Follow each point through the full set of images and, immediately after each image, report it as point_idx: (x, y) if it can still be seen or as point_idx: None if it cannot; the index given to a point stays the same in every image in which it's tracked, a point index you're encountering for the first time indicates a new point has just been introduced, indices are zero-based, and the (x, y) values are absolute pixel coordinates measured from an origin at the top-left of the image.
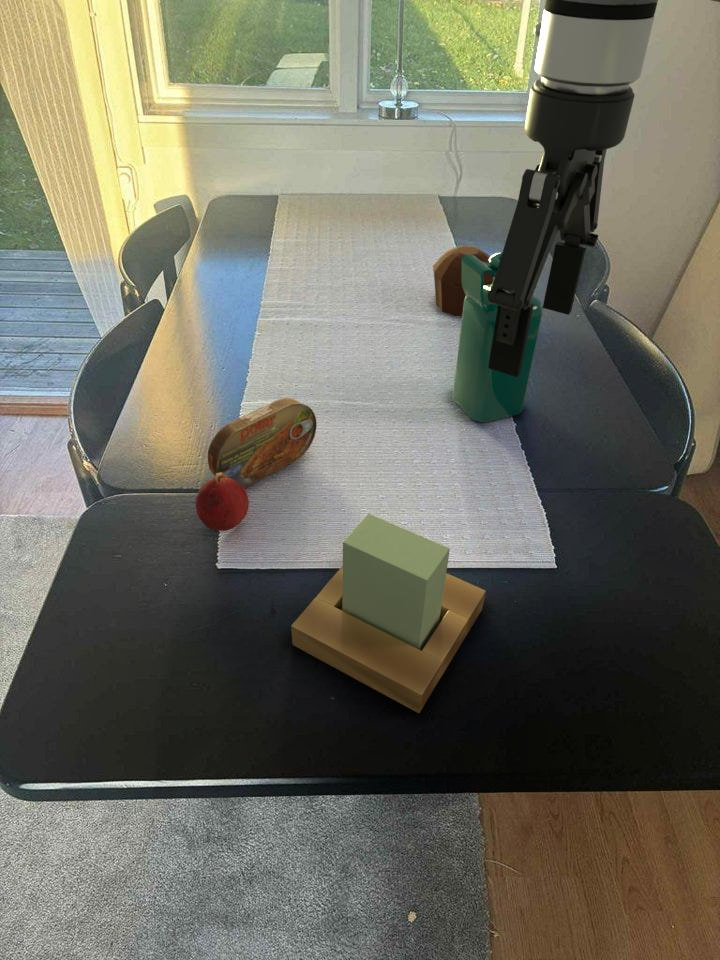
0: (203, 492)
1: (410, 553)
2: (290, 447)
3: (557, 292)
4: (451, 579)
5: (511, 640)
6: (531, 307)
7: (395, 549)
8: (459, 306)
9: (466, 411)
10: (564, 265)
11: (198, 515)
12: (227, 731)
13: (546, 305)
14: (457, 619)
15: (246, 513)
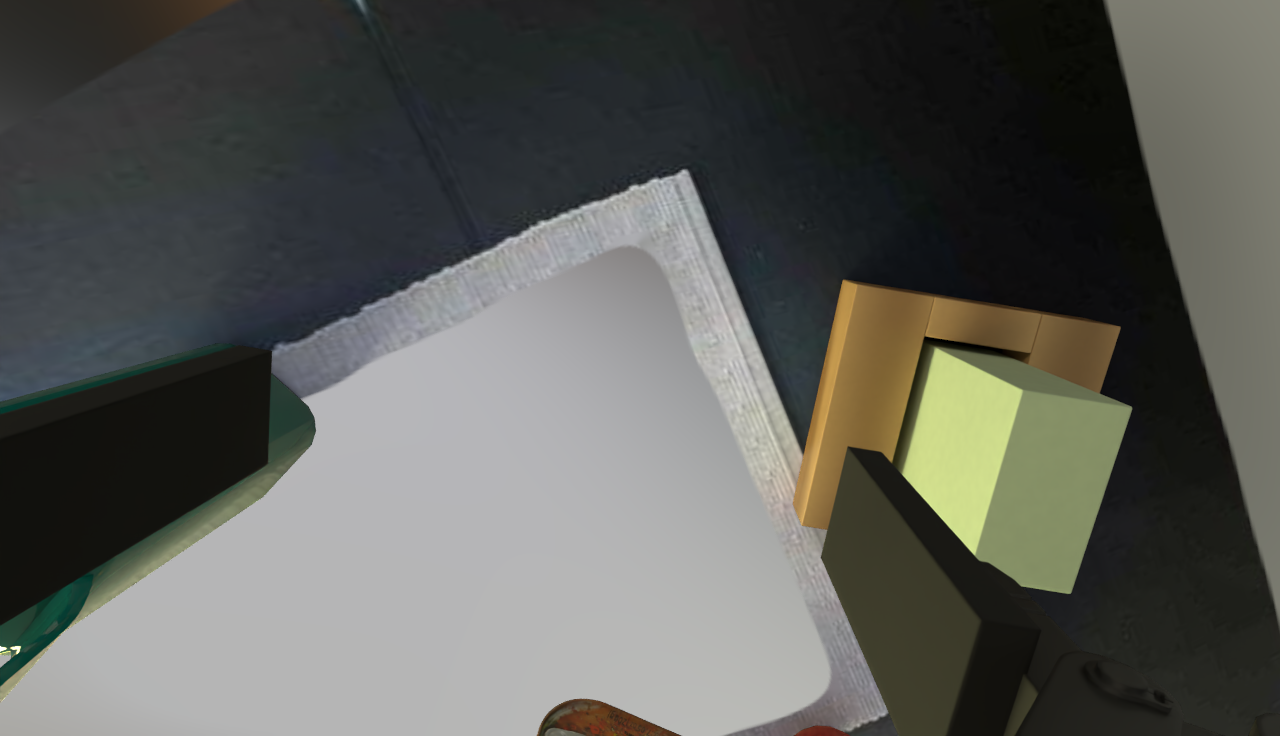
0: None
1: (1062, 461)
2: (603, 733)
3: (211, 445)
4: (852, 351)
5: (893, 212)
6: (1015, 622)
7: (1060, 492)
8: None
9: (299, 457)
10: (90, 497)
11: None
12: (1189, 562)
13: (258, 455)
14: (943, 315)
15: (821, 732)
